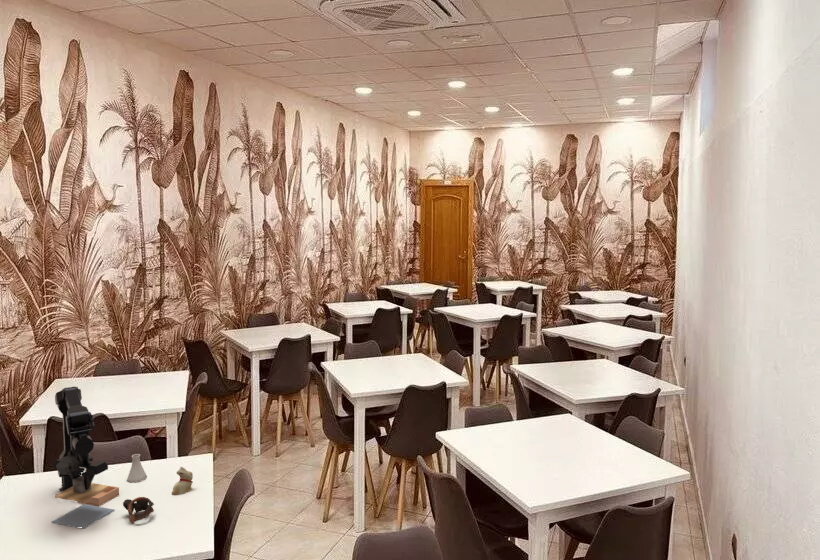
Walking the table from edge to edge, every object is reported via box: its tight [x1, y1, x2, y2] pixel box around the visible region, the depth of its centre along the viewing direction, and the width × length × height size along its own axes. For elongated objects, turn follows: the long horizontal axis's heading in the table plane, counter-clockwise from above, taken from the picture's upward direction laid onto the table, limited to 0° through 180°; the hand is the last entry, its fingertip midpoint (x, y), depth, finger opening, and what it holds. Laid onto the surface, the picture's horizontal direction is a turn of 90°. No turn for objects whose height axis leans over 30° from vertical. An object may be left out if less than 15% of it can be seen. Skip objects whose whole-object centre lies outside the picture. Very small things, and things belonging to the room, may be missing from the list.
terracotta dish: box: [76, 485, 120, 507], centre depth 234 cm, size 10×10×3 cm
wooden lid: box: [54, 475, 110, 502], centre depth 219 cm, size 12×12×5 cm
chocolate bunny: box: [171, 466, 194, 496], centre depth 240 cm, size 6×8×10 cm
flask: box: [126, 453, 148, 483], centre depth 251 cm, size 7×7×10 cm
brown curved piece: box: [122, 496, 155, 524], centre depth 219 cm, size 12×9×8 cm
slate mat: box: [51, 503, 115, 529], centre depth 220 cm, size 14×14×1 cm
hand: (82, 488), depth 219 cm, fingers closed on wooden lid, 4 cm apart
